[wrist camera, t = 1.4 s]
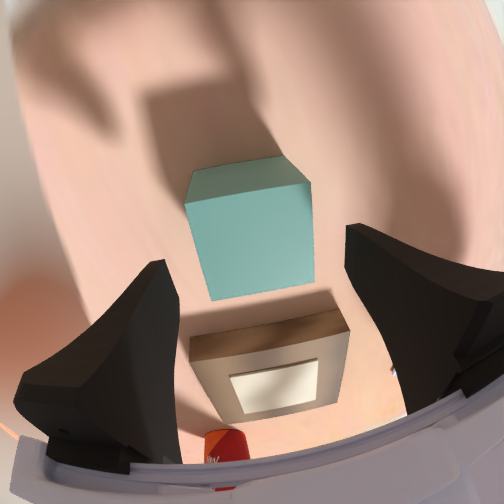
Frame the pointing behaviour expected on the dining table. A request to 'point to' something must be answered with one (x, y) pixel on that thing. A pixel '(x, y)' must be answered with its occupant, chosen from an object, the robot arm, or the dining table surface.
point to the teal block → (252, 226)
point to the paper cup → (225, 448)
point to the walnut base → (272, 366)
